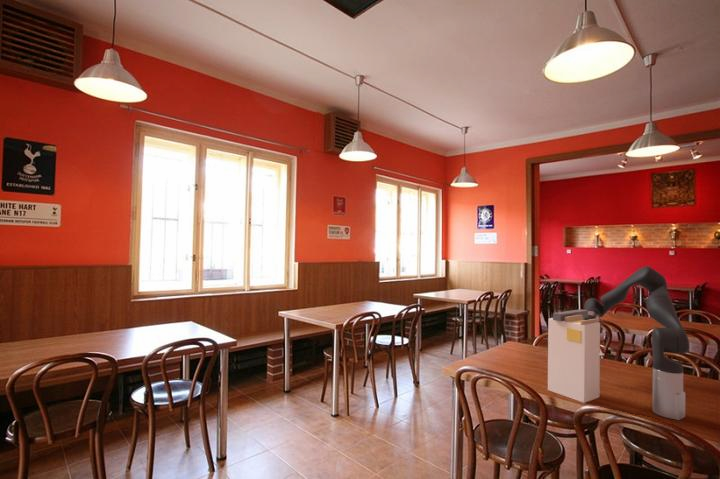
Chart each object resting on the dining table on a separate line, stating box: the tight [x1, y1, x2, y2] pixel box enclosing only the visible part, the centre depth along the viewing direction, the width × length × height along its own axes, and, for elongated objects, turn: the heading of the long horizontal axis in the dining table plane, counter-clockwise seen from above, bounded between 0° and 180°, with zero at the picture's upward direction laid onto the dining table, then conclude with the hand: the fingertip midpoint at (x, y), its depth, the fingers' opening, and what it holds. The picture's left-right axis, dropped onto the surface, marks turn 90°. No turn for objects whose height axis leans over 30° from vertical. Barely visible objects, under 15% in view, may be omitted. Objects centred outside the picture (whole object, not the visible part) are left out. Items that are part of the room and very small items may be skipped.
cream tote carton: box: [547, 315, 601, 404], centre depth 167 cm, size 16×12×34 cm
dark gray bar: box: [552, 309, 588, 321], centre depth 172 cm, size 4×22×3 cm, turn 121°
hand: (582, 336), depth 180 cm, fingers open, 8 cm apart
